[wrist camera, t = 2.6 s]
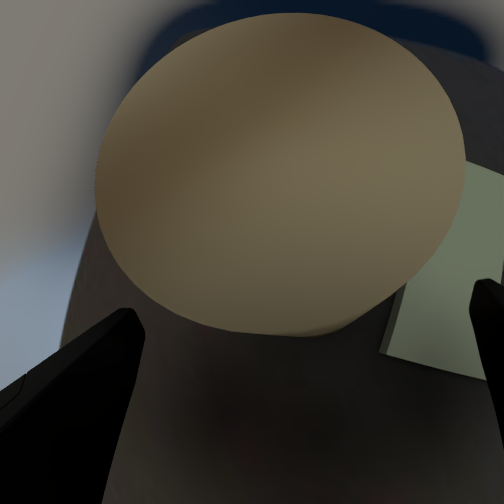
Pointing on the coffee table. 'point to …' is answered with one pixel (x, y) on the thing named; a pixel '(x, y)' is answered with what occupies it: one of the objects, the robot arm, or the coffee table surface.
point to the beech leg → (280, 175)
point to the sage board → (452, 283)
